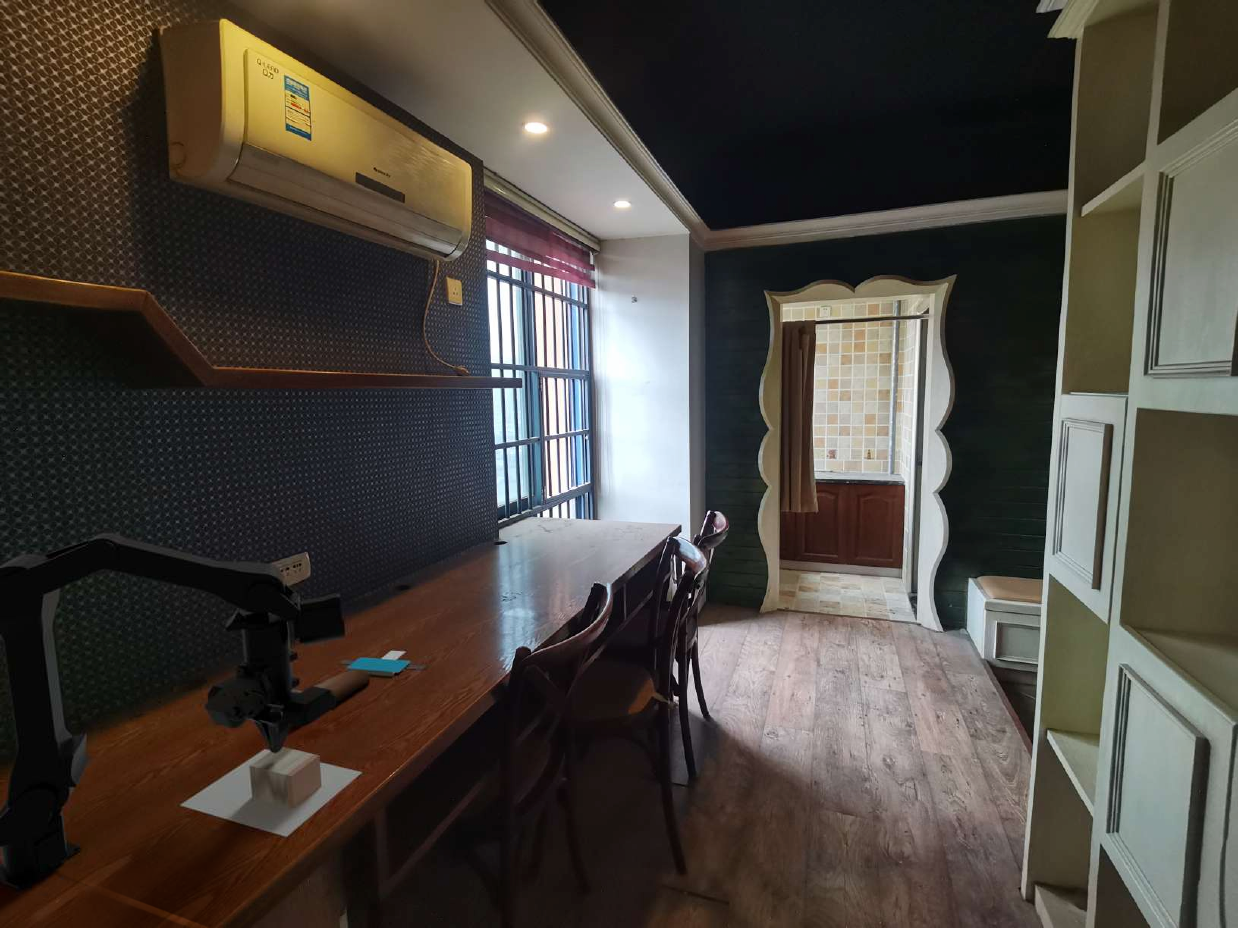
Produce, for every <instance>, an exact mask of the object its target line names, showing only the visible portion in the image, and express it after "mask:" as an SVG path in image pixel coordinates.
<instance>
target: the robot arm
mask: <svg viewBox="0 0 1238 928" xmlns="http://www.w3.org/2000/svg"><path fill="white" fill-rule="evenodd" d="M101 570H105V571H111V572H115V573H119V574H124V575H128V576H133V577H139V578H141V579H147V580H151V581H155V582H160V583H164V584H167V585H173V586H178V587H183V588H187V589H192V590H195V591H200V592H203V593H206V594H209V595H212V596H214V597H216V598H217V599H219V600H221V601H223V602H225V603H226V604H228V605H230V606H232V607H235V608H236V611H235V613H234V614H233V615H231V616H230V617H229V618H228V619H227V620H226V624H225V632H227V633H229V632H235V631H240V630H242V631H241V633H242V643H243V654H244V661H243V662H241V663H239V664H238V665H237V668H236V674H234V675H232V676H230V677H228V678H226V679H224V680H222V681H220V682H218V683H216V684H214V685H212V686H211V688H210V690H209V691H208V693H207V701H206V703H205V704H204V709H205V711H206V713H207V714H208V715H209V718H210V719H211V721H212V722H213V724H214V725H216V726H224V727H227V728H229V729H237V728H239V727H240V726H242V725H243V724H244V723H245V722H246V720H250V721H252V722H253V723H254V724H255V726H256V727H257V729H258V731H259V732H260V734H261V737H263V740H264V742H265V743H266V745H267V748H268V750H270V751H271V752H272V753H277V752H279V751H280V750H281V749H282V747H284V744H285V742H286V739H287V738H288V737H287V736H288V734H289V732H290V730H291V728H292V727H291V725H297V726H301V727H305V726H308V725H310V724H312V723H313V722H315V721H316V720H318V719H319V718H321V717H322V716H324V715H325V714H326V713H327V714H328V712H330V711H331V710H333V709H334V708H336V707H337V702H336V699H335V692H334V691H332V690H330V689H325V688H320V687H314V686H315V685H311V686H310V687H307V688H306V689H305V690H298V689H295V688H297V687H298V686H300V685H301V683H300V678H299V677H294V676H293V667H292V662H294V661H296V660H298V659H299V658H298V657H299V656H298V651H294V650H293V651H292V650H291V644H290V643H291V642H290V632H289V622H291V621H293V622H292V623H293V634H294V635H293V636H294V641H299V644H300V645H302V644H303V646H304V647H305V646H309V645H311V646H312V645H314V644H315V645H316V644H320V643H326V642H330V641H336V640H341V639H344V638H345V637H346V628H345V618H344V615H343V611H342V609H343V608H342V605H341V602H342V601H341V596H340V594H339V593H331V594H328V595H325V596H321V597H314V598H309V599H302V600H301V597H300V595H299V594H298V593H297V592H296V591H295V590H293V589H292V588H291V587H290V586H289V585H288V584H287V583H286V582H285V576H284V574H283V572H282V569H280V568H279V567H278V566H277V565H273V564H271V563H264V562H263V563H262V562H254V561H222V560H217V559H212V558H209V557H208V558H207V557H204V556H199V555H195V554H191V553H188V552H187V553H186V552H184V551H179V550H175V549H172V548H168V547H164V546H160V545H155V544H152V543H151V544H150V543H146V542H144V541H141V540H136V539H131V538H127V537H124V536H122V535H120V534H119V533H114V532H104V533H103V532H102V533H100V534H97V535H96V536H94V537H92V538H90V539H88V540H84V541H80V542H78V543H74V544H71V545H69V546H68V545H67V546H65V547H63V548H60V549H57V550H54V551H52V552H50V553H49V552H48V553H46V554H44V555H43V554H37V553H34V554H32V553H29V554H23V555H19V556H16V557H14V558H11V559H10V560H9V561H7V562H6V563H3V564H2V565H0V638H1V641H2V645H3V652H4V660H5V667H6V674H7V682H8V688H9V698H10V703H11V705H10V706H11V710H12V711H11V713H12V719H13V726H14V735H15V741H16V753H15V756H14V760H13V764H12V767H11V771H10V776H9V779H8V788H7V796H6V800H5V802H4V803H3V805H2V807H0V853H1V859H2V865H0V883H2V884H4V885H7V886H10V887H12V888H14V889H16V890H23V889H25V888H27V887H28V886H31V885H32V884H33V883H35V882H37V881H38V880H40V879H41V878H43V877H44V876H46V875H47V874H49V873H51V872H52V871H54V870H55V868H56V867H59V866H60V865H61V864H63V863H64V862H66V861H68V860H69V859H71V858H73V857H74V856H76V855H78V854H79V853H80V852H81V851H83V848H82V846H80V845H77V844H74V843H71V842H70V841H69V842H68V841H67V839H66V838H67V837H66V832H65V831H66V830H65V822H64V817H63V816H64V815H63V807H64V806H65V805H66V804H67V803H68V801H69V799H70V798H71V795H72V794H73V791H74V790H75V788H76V787H77V786H78V784H79V782H80V780H81V778H82V776H83V775H84V773H85V771H86V768H87V766H88V765H89V763H90V761H91V756H90V755H89V753H88V751H87V748H86V747H87V738H88V737H87V733H85V732H84V733H81V734H79V735H75V736H73V735H72V734H71V733H70V732H69V730H67V728H66V726H65V718H64V709H63V702H62V701H63V700H62V694H61V686H60V678H59V670H58V663H57V662H58V661H57V655H56V645H55V637H54V631H53V622H54V618H55V615H56V611H57V606H58V603H59V600H60V592H61V589H62V588H63V587H65V586H68V585H69V584H72V583H74V582H76V581H79V580H80V579H83V578H85V577H87V576H89V575H91V574H94V573H96V572H99V571H101Z"/></svg>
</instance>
